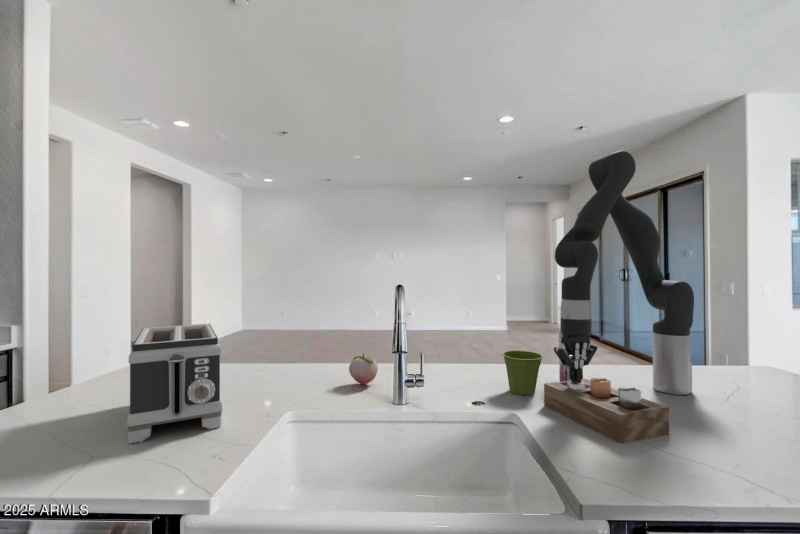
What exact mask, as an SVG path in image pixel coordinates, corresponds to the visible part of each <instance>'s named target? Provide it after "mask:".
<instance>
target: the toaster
mask: <svg viewBox="0 0 800 534" xmlns="http://www.w3.org/2000/svg"><path fill="white" fill-rule="evenodd" d="M221 354H222V347H221V346H220V344H219V338H218V336H217V335H216V333H215V331H214V329H213V326H212V325H211V324H210V323H199V324H198V323H197V324H183V325H168V326H153V327H152V326H151V327H149V326H148V327H142V329H141V331H140V333H139V334H138V335H137V337H136V339H135V341H134V342H133V343H132V350H131V351H130V354H129V355H128V364H129V413H128V416H127V419H126V427H127V443H128V444H129V443H135V444H137V443H136V442H140V443H142V442H141V441H143V442H144V441H146V440H147V439H148V438H150V437H151V435H152V429H153V426H157V425H163V424H165V425H166V424H170V423H176V422H181V421H187V420H194V419H199V418H200V421H201V427H202V428H204V429H207V430H209V429H211V430H215V429H214V428H216V429H220V428H221V426H222V424H223V423H222V420H223V419H222V418H223V417H222V415H223V414H222V412H223V403H222V400H221V395H220V394H221V393H220V391H221V390H220V389H221V388H220V387H221V385H220V381H221V380H220V379H221V377H220V376H221V374H220V373H221V371H220V370H221V362H220V360H221V359H220V358H221V357H220V356H221Z"/></svg>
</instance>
